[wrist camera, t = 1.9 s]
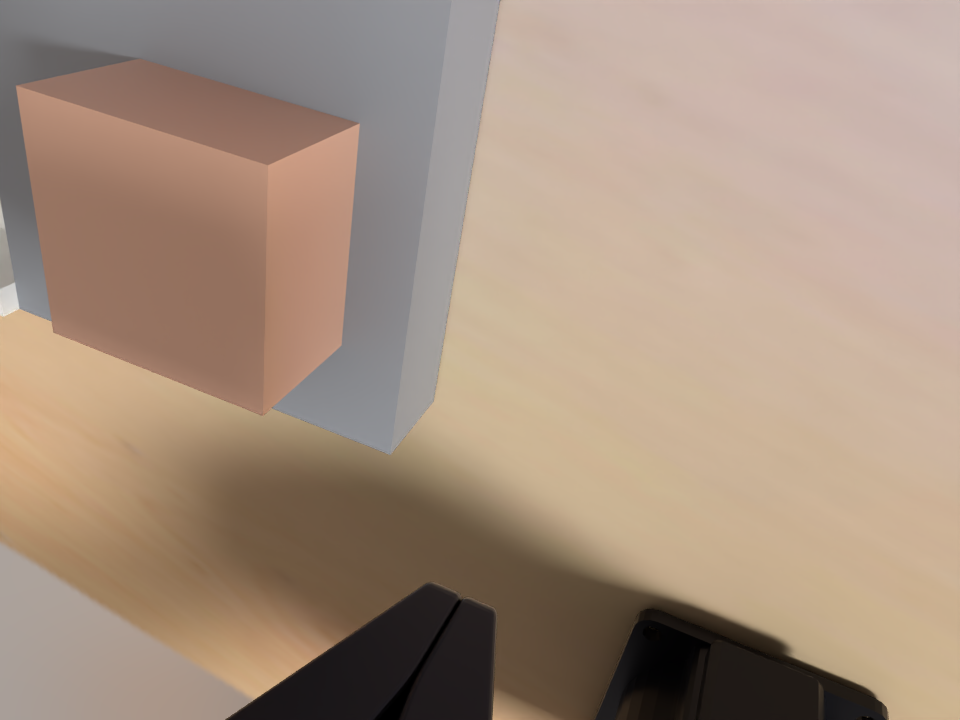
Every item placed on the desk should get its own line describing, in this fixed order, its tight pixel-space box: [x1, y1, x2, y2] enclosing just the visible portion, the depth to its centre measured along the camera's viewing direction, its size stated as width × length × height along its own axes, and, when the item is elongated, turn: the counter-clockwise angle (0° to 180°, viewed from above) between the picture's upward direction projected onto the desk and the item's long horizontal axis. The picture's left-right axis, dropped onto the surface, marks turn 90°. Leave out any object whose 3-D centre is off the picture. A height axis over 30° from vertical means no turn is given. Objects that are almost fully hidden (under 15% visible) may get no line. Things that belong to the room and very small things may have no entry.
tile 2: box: [16, 59, 360, 416], centre depth 16 cm, size 5×5×3 cm
